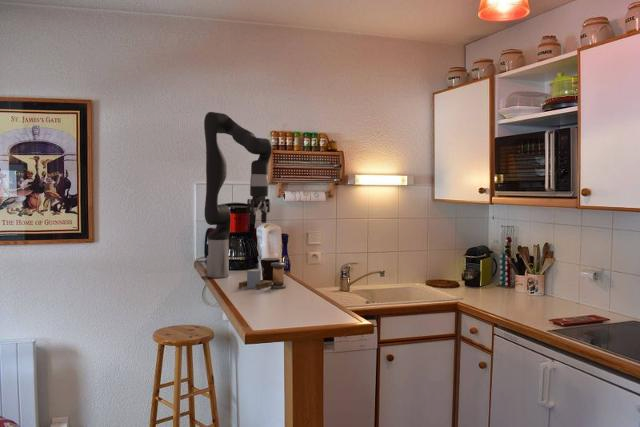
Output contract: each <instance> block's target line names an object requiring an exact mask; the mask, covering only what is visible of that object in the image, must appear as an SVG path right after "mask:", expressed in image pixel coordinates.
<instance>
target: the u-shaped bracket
mask: <svg viewBox="0 0 640 427" xmlns="http://www.w3.org/2000/svg"><path fill="white" fill-rule="evenodd" d="M271 285H273V283H272V281H267V280H263V279H261V283H259V284H256V288H255V289H256V290H263V289H266V288H269V287H270V288H271ZM238 288H242V289H243V288H247V280H244V281H240V282H238Z"/></svg>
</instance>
